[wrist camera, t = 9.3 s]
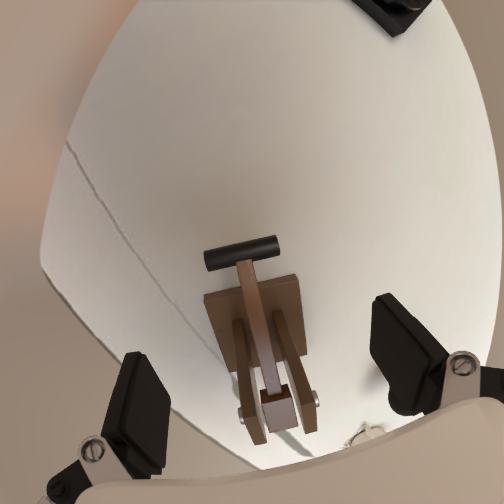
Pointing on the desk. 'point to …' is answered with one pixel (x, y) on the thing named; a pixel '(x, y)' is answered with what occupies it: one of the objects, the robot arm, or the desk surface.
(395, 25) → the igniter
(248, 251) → the lever
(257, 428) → the bracket
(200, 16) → the desk surface
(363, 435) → the mug
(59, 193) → the desk surface
